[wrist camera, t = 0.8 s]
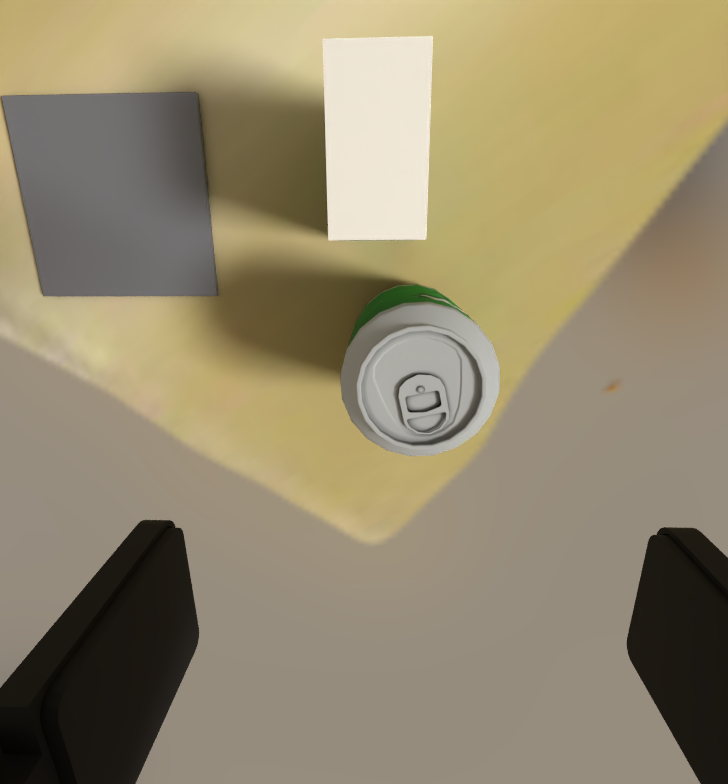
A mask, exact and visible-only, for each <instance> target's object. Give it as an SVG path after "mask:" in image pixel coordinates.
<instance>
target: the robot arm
mask: <svg viewBox="0 0 728 784" xmlns="http://www.w3.org/2000/svg"><path fill="white" fill-rule="evenodd" d="M198 638H199V627H198V621H197V615H196V608H195V602H194V597H193V590H192V584H191V578H190V571H189V566H188V559H187V554H186V547H185V541H184V534H183V531H182V529H181V528H175V524H174V523H173V522H172V521H170V520H143V521H141V522H140V523H139V524H138V525H137V526H136V527H135V528H134V529H133V531H132V532H131V533H130V534H129V535H128V537H127V538H126V539H125V540H124V541H123V542H122V544H121V545H120V546H119V547H118V548H117V550H116V551H115V552H114V553H113V555H112V556H111V557H110V558H109V559H108V560H107V562H106V563H105V564H104V565H103V566H102V567H101V569H100V570H99V571H98V572H97V573H96V575H95V576H94V577H93V578H92V579H91V581H90V582H89V583H88V584H87V585H86V586H85V588H84V589H83V590H82V591H81V593H80V594H79V595H78V596H77V597H76V598H75V600H74V601H73V602H72V603H71V605H70V606H69V607H68V608H67V609H66V610H65V611H64V613H63V614H62V615H61V616H60V617H59V619H58V620H57V621H56V622H55V623H54V625H53V626H52V627H51V628H50V629H49V631H48V632H47V633H46V634H45V635H44V637H43V638H42V639H41V640H40V641H39V642H38V644H37V645H36V646H35V647H34V649H33V650H32V651H31V652H30V653H29V654H28V656H27V657H26V658H25V659H24V660H23V662H22V663H21V664H20V665H19V666H18V667H17V669H16V670H15V671H14V672H13V674H12V675H11V676H10V677H9V678H8V679H7V681H6V682H5V683H4V684H3V685H2V687H1V688H0V784H135V783H136V781H137V779H138V777H139V774H140V772H141V770H142V768H143V766H144V763H145V761H146V759H147V756H148V754H149V752H150V750H151V748H152V746H153V743H154V741H155V739H156V737H157V735H158V732H159V730H160V728H161V726H162V723H163V721H164V719H165V717H166V714H167V712H168V710H169V708H170V706H171V703H172V701H173V699H174V697H175V695H176V692H177V690H178V688H179V686H180V683H181V681H182V679H183V677H184V675H185V672H186V670H187V668H188V666H189V663H190V661H191V659H192V657H193V655H194V652H195V650H196V647H197V644H198ZM627 650H628V654H629V657H630V660H631V662H632V664H633V666H634V667H635V669H636V671H637V673H638V674H639V676H640V678H641V680H642V681H643V683H644V685H645V686H646V688H647V690H648V692H649V693H650V695H651V697H652V699H653V700H654V703H655V704H656V706H657V708H658V709H659V711H660V713H661V715H662V717H663V718H664V720H665V722H666V723H667V725H668V727H669V729H670V730H671V732H672V734H673V736H674V738H675V739H676V741H677V743H678V745H679V746H680V748H681V750H682V752H683V753H684V755H685V757H686V758H687V761H688V762H689V764H690V766H691V768H692V769H693V771H694V773H695V775H696V776H697V778H698V780H699V781H700V783H701V784H728V558H727V557H726V556H725V555H724V554H723V553H722V552H721V551H720V550H719V549H718V548H717V547H716V546H715V545H714V544H713V543H712V542H710V541H709V539H708V538H706V537H705V536H704V535H703V534H702V533H701V532H700V531H699V530H697V529H695V528H666V527H664V528H661V529H660V530H659V531H658V532H657V535H653V536H651V537H650V539H649V541H648V546H647V550H646V554H645V560H644V564H643V568H642V573H641V578H640V582H639V587H638V591H637V597H636V600H635V605H634V610H633V615H632V619H631V624H630V628H629V633H628V637H627Z"/></svg>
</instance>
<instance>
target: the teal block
mask: <svg viewBox="0 0 728 784" xmlns="http://www.w3.org/2000/svg"><path fill="white" fill-rule="evenodd" d="M432 48H433V36H416V37H375V38H334V39H323V66H324V102H325V138H326V175H327V211H328V240H344V241H362V240H426V234H427V203H428V172H429V141H430V110H431V79H432Z"/></svg>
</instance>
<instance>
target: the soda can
mask: <svg viewBox="0 0 728 784" xmlns="http://www.w3.org/2000/svg"><path fill="white" fill-rule="evenodd" d="M340 380H341V392H342V400H343V402H344V404H345V407H346V409H347V411H348V414H349V416H350V418H351V421H352V422H353V423H354V424H355V425H356V427H357V428H358V429H359V430H360V431H361V432H362V433H363V434H364V436H365V437H366V438H367V439H369V440H371V441H372V442H374V443H376V444H377V445H379V446H381V447H382V448H384V449H386V450H387V451H391V452H395V453H399V454H403V455H407V456H427V455H436V454H439V453H442V452H445V451H448V450H451V449H454V448H457V447H458V446H459V445H461V444H462V443H464V442H465V441H467V440H468V439H469V438H471V437H472V436H474V435H475V434H476V433H477V432H478V431H479V430H480V428H481V427H482V426H483V424H484V423H485V422H486V420H487V419H488V418H489V417H490V415H491V413H492V411H493V408H494V405H495V402H496V400H497V397H498V394H499V380H500V366H499V363H498V360H497V357H496V354H495V351H494V348H493V345H492V343H491V342H490V340H489V339H488V338H487V336H486V335H485V334H484V332H483V331H482V330H481V328H480V327H479V326H478V325H477V323H475V322H474V321H473V320H472V319H471V318H470V317H469V316H468V315H467V314H465V313H464V312H463V311H462V310H461V309H460V308H459V307H458V306H457V305H455V304H454V303H453V302H452V301H451V300H450V299H449V298H447V297H446V296H444V295H443V294H441V293H440V292H438V291H437V290H435V289H433V288H429V287H425V286H421V285H418V284H411V285H398V286H395V287H393V288H390V289H388V290H385V291H383V292H381V293H379V294H378V295H377V296H376V297H375V298H373V299H372V300H371V301H370V302H369V303H367V305H366V306H365V308H364V309H363V311H362V313H361V314H360V316H359V317H358V319H357V322H356V325H355V327H354V330H353V333H352V336H351V339H350V342H349V345H348V347H347V350H346V354H345V358H344V362H343V366H342V370H341V374H340Z"/></svg>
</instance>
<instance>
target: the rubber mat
mask: <svg viewBox="0 0 728 784" xmlns="http://www.w3.org/2000/svg"><path fill="white" fill-rule="evenodd" d="M1 97H2V101H3V106H4V111H5V116H6V121H7V125H8V130H9V135H10V140H11V144H12V149H13V154H14V159H15V163H16V168H17V173H18V178H19V183H20V187H21V192H22V197H23V202H24V206H25V211H26V216H27V221H28V225H29V230H30V235H31V240H32V245H33V249H34V254H35V259H36V264H37V268H38V273H39V278H40V283H41V287H42V292H43V296H218V288H217V278H216V268H215V258H214V247H213V237H212V227H211V217H210V207H209V197H208V187H207V176H206V166H205V156H204V146H203V136H202V126H201V116H200V105H199V95H198V93H197V92H166V93H116V94H66V95H16V96H1Z"/></svg>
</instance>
